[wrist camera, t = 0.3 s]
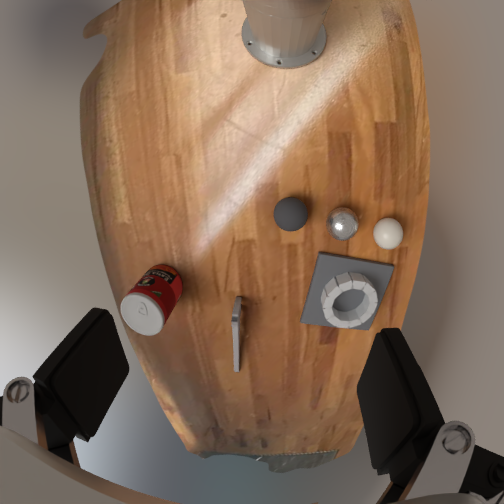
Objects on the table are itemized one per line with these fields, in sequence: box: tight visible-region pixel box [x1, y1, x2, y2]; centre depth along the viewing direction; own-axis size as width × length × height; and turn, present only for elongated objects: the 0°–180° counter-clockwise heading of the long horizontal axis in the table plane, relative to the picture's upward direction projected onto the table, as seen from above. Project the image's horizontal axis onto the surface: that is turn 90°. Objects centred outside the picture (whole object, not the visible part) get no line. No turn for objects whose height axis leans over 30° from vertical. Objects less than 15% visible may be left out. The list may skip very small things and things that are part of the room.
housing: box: [300, 252, 394, 330], centre depth 45 cm, size 14×14×4 cm
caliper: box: [231, 297, 242, 372], centre depth 50 cm, size 20×1×6 cm, turn 177°
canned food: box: [121, 265, 183, 335], centre depth 44 cm, size 8×8×11 cm
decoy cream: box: [373, 218, 403, 249], centre depth 39 cm, size 5×5×5 cm
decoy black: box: [274, 197, 308, 231], centre depth 40 cm, size 5×5×5 cm
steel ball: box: [326, 207, 359, 241], centre depth 39 cm, size 5×5×5 cm
